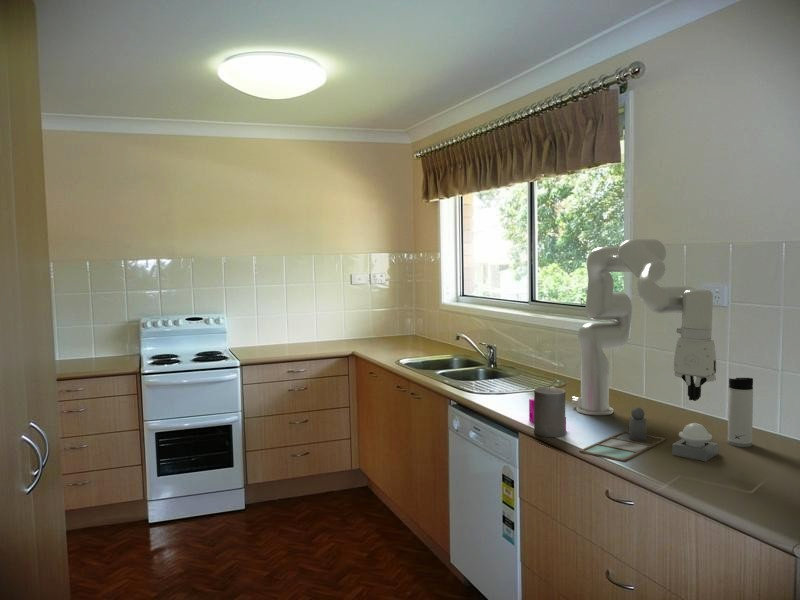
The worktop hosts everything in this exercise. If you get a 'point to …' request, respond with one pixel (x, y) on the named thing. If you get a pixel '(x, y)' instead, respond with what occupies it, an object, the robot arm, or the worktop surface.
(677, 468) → the worktop surface
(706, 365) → the robot arm
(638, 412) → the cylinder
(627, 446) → the brown flat rectangular frame
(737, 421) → the travel mug
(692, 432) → the dome
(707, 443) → the collar
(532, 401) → the toy block
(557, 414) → the pillar candle
